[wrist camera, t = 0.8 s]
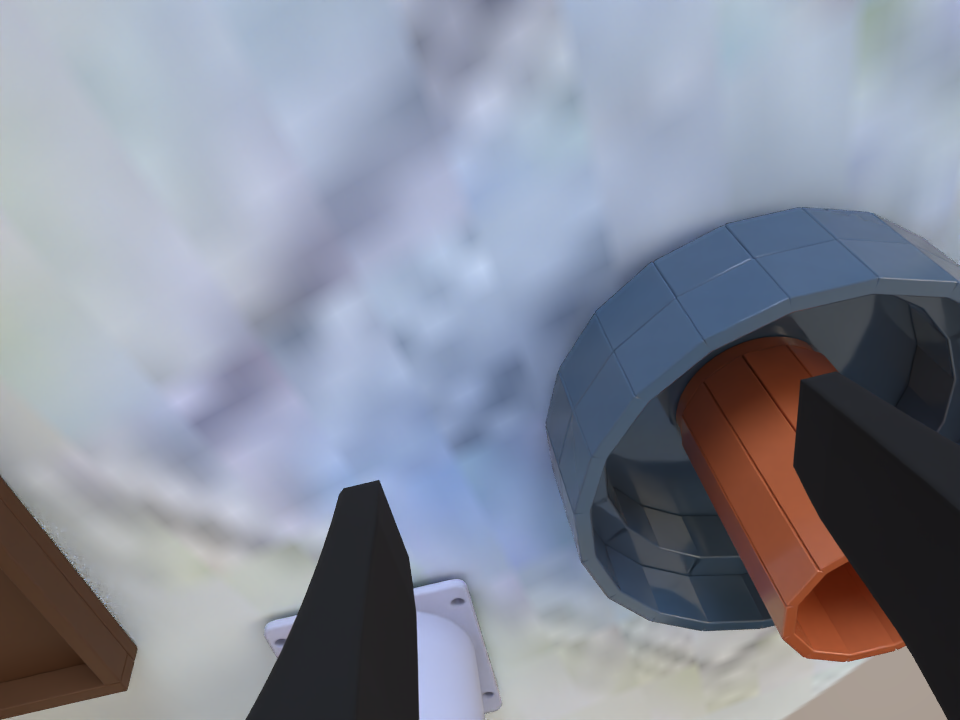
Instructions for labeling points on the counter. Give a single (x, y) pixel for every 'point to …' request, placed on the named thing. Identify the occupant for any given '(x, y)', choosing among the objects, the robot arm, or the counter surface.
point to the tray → (51, 624)
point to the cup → (777, 498)
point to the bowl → (699, 338)
